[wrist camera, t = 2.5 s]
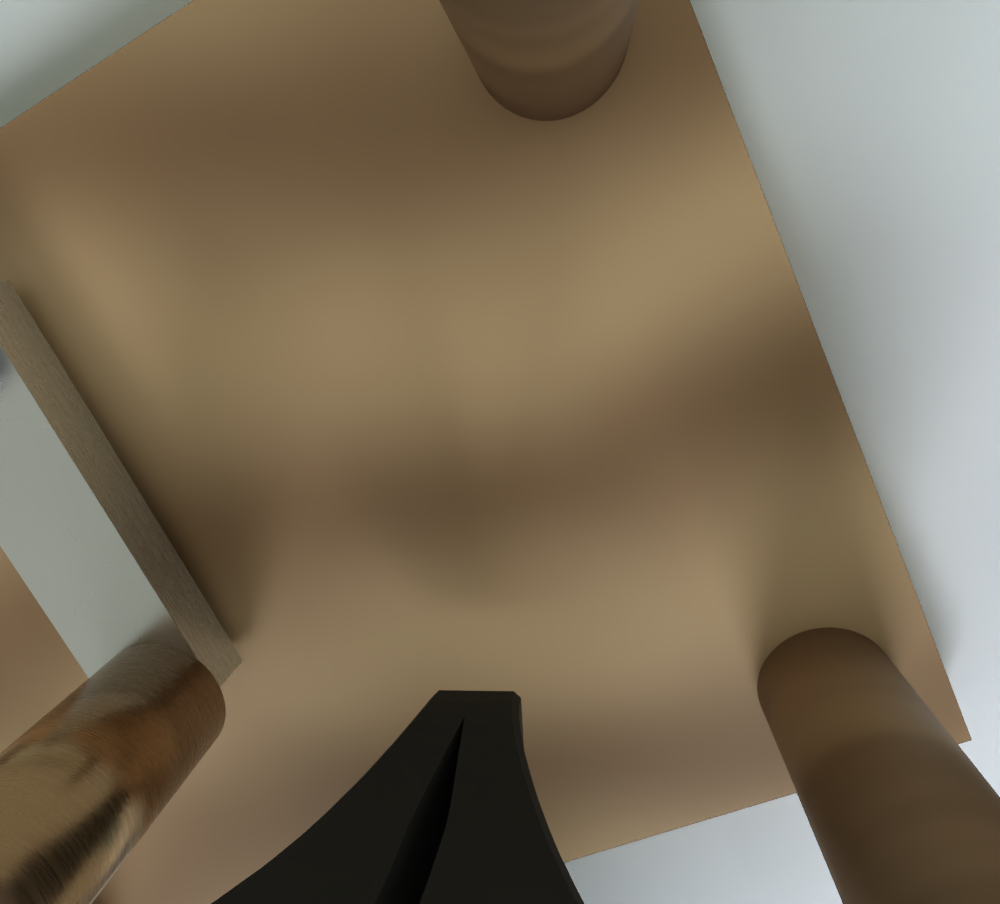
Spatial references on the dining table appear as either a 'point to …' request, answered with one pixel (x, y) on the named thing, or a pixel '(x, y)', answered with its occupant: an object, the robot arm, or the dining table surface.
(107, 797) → the hinged leg
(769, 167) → the dining table surface
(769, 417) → the stool seat
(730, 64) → the dining table surface
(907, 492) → the dining table surface
